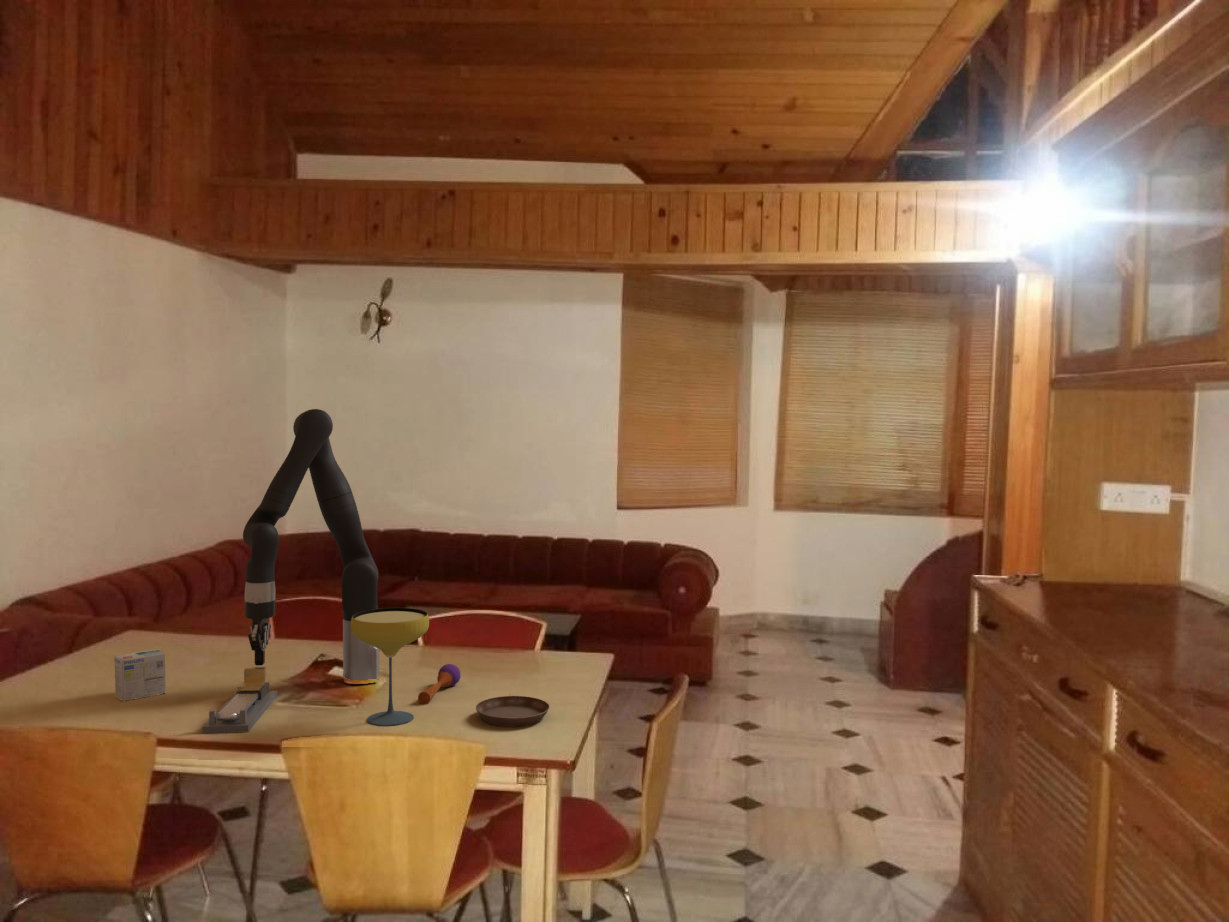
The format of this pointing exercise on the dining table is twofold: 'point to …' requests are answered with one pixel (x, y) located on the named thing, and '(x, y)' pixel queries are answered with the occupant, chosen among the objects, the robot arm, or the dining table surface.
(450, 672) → the purple maraca
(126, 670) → the light bulb box
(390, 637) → the cocktail glass
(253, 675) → the block
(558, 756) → the dining table surface
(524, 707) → the plant saucer
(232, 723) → the base
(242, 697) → the grey flat bar
